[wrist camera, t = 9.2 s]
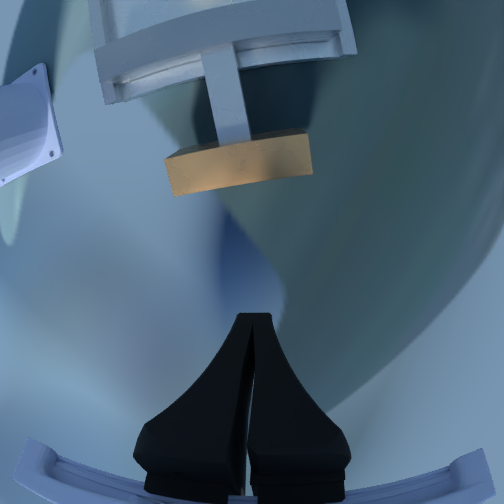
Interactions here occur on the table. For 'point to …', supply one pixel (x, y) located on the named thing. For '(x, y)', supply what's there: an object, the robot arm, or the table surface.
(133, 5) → the vise bed
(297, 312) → the table surface
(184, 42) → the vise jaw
